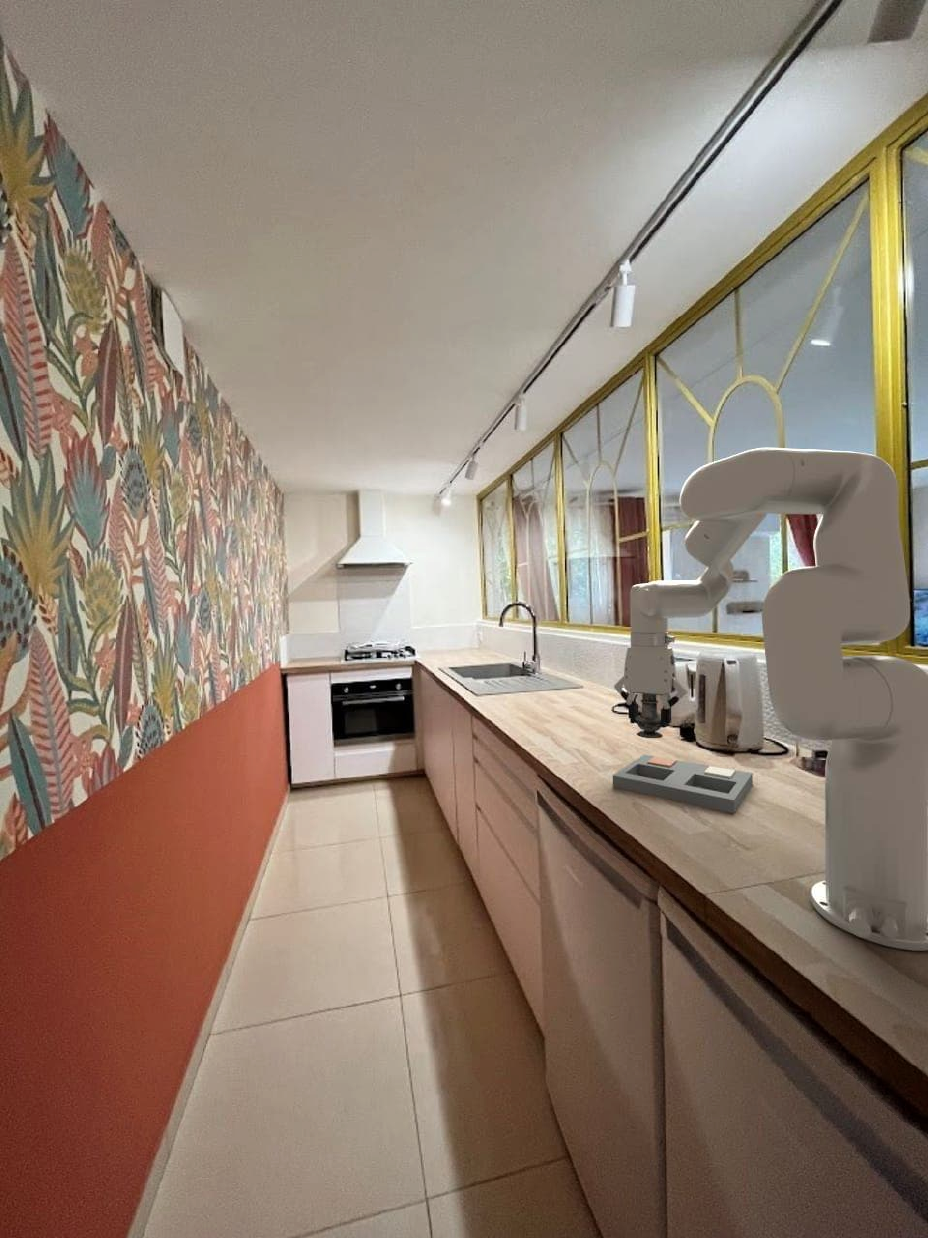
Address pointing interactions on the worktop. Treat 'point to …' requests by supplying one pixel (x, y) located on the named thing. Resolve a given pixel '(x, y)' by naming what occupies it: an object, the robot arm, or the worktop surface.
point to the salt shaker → (649, 717)
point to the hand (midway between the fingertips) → (649, 723)
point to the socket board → (685, 782)
